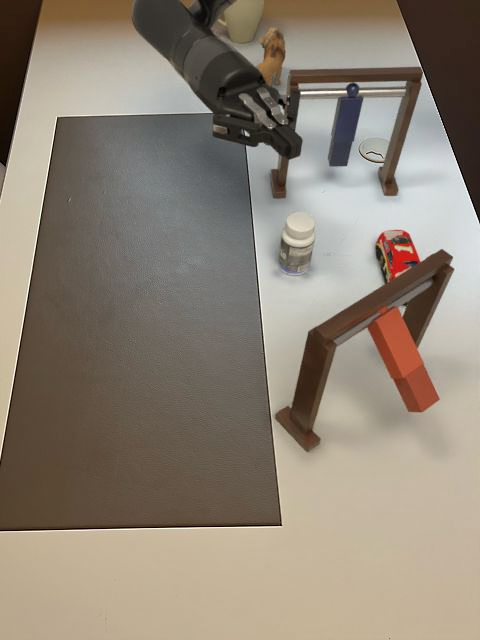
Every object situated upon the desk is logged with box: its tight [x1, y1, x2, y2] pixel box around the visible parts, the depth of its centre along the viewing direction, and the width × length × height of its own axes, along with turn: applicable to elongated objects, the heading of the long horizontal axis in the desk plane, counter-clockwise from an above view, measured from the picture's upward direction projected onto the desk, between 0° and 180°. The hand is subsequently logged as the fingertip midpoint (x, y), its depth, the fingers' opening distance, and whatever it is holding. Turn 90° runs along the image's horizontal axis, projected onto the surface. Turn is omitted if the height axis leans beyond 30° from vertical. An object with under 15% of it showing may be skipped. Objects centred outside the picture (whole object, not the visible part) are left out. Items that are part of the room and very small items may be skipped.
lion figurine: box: [255, 27, 286, 87], centre depth 115 cm, size 15×5×9 cm, turn 167°
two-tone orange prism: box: [333, 277, 440, 413], centre depth 67 cm, size 2×15×13 cm
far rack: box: [269, 66, 424, 199], centre depth 95 cm, size 6×20×19 cm, turn 91°
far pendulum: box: [299, 82, 406, 168], centre depth 94 cm, size 2×15×13 cm, turn 91°
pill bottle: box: [277, 211, 316, 276], centre depth 89 cm, size 5×5×8 cm
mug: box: [217, 0, 266, 44], centre depth 125 cm, size 11×10×12 cm
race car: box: [375, 229, 421, 305], centre depth 90 cm, size 13×5×4 cm, turn 2°
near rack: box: [274, 248, 455, 453], centre depth 72 cm, size 6×20×19 cm, turn 126°
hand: (296, 151), depth 73 cm, fingers closed
